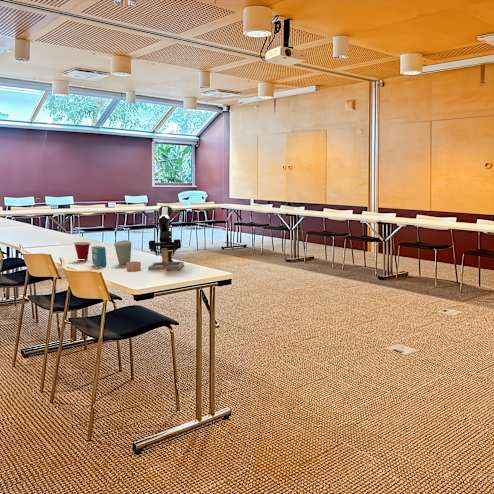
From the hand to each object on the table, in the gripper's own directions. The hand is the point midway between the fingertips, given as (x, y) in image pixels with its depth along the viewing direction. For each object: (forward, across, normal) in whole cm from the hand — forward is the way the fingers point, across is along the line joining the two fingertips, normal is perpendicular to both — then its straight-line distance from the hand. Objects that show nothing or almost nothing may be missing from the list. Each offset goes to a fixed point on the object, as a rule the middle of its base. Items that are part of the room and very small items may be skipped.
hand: (165, 255), depth 318 cm
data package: (-14, -42, +26) cm, 52 cm away
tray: (+3, 0, +8) cm, 9 cm away
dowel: (+4, 0, +6) cm, 7 cm away
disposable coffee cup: (-12, -27, +23) cm, 37 cm away
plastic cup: (-34, -57, +45) cm, 80 cm away
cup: (+6, -18, +6) cm, 20 cm away
